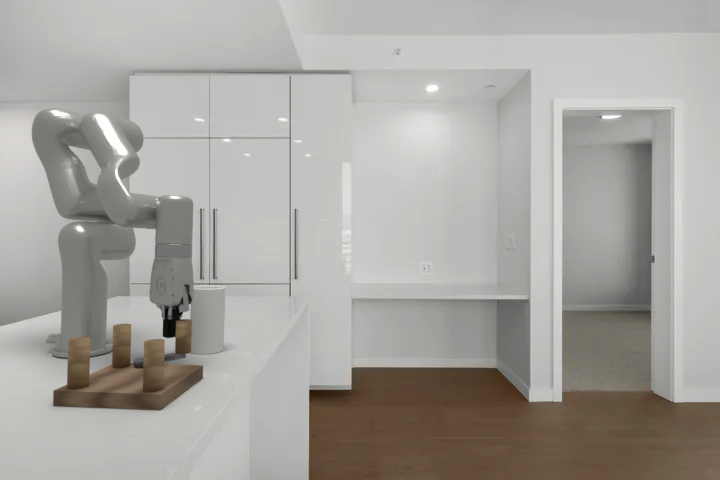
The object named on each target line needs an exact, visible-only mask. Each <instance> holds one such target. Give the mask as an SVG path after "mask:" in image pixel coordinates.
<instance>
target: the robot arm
mask: <svg viewBox="0 0 720 480" xmlns="http://www.w3.org/2000/svg"><path fill="white" fill-rule="evenodd" d="M31 126H32V127H31V138H32V139H31V141H32V144H33V148H34V150H35V153H36V155H37V157H38V158H39V161H40V163H41V165H42V167H43V170H44V172H45V174H46V178H47V182H48V185H49V189H50V193H51V196H52V201H53V203H54V206H55V209H56V211H57V213H58V214H59V216H61V217H62V218H63V219H66V220H71V221H72V222H71V223H70V222H69V223H68V224H66V225H64V226H63V227H62V228H61V229H60V231H59V232H58V237H57V245H58V250H59V256H60V263H61V306H60V307H61V308H60V310H61V311H60V312H61V313H60V333H58V334H57V333H50V334H49V335H48V336H47V338H46V339H45V343H46V344H55V347H54V348H53V349H52V351H51V352H52V353H51V355H52V356H53V357H57V358H63V359H64V358H65V359H68V339H70V338H74V337H90V357H94V356H95V357H96V356H100V355H104V354H105V355H106V354H107V353H110V352H112V350H113V343H110V342H107V327H108V326H107V324H108V323H107V317H108V289H109V287H108V280H109V279H108V276H107V275H108V274H107V272H106V269H104V267H103V265H102V264H101V262H100V261H121V260H125V259H128V258H129V257H131V256H132V255H133V254H134V251H135V250H136V245H137V243H136V242H137V241H136V240H137V239H136V234H135V231H134V229H144V230H145V229H146V230H155V235H154V237H155V238H154V240H155V241H154V243H155V245H154V258H153V262H152V267H151V274H150V281H149V301H150V302H151V303H152V304H154V305H155V306H156V308H158V309H160V311H161V313H160V314H161V318H162V337H163V338H166V339H172V338H175V337H176V320H180V319H183V314H184V313H186V312H189V311H190V305H191V303H192V301H193V294H194V286H195V283H194V268H193V267H194V266H193V260H192V259H193V234H194V233H193V230H194V229H193V227H194V224H193V223H194V201H193V200H192V198H191V197H189V196H184V195H176V194H167V195H166V194H165V195H161V196H156V195H150V194H142V193H136V192H135V193H134V192H130V191H129V190H128V189H127V187H126V185H125V184H124V182H123V181H122V180H124V179H127V178H129V177H131V176H132V175H133V174H135V173H136V172H138V171H137V170H138V169H139V167H140V164H141V159H140V157H139V155H138V152H139V151H140V150H141V149H142V148H143V145H144V134H143V131H142V129H141V127H140V126H139V125H138V124H137V123H135V122H134V121H132V120H130V119H126V118H124V117H120V116H116V115H113V114H110V113H107V112H101V111H92V112H89V113H86V114H82V113H78V112H74V111H71V110H67V109H64V108H63V109H61V108H54V107H53V108H52V107H51V108H49V107H48V108H44V109H42V110H40V111H39V112H37V113H36V115H35V116H34V119H33V120H32V124H31ZM70 147H74V148H77V149H83V150H88V151H90V152H91V154H92V156H93V158H94V160H95V161H96V163H97V165H98V167H99V168H100V169H101V170H100V172H99V175H98V177H97V182H96V184H95V183H92V182H91V180H90V179H89V177H88V174H87V170H86V167H85V165H84V163H83V161H82V160H81V159H80V158H79V156H78V155H77V154H76V153H75V152H74V151H73V150H72V149H71V148H70ZM73 221H74V222H73Z"/></svg>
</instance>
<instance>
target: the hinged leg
mask: <svg viewBox="0 0 720 480" xmlns="http://www.w3.org/2000/svg"><path fill="white" fill-rule="evenodd" d="M174 338H175V339H174V340H175V341H174V342H175V344H174V347H175V348H174V350H175V351H174V352H172V353H167V354H165V353H164V363H166V362H172V361H177V360H182V359H186V358H187V357H186V356H187V355H189V354H192V353H191V340H192V320H190V318H186V319H185V318H181V319H180V320H176V337H174ZM143 361H144V357H137V358H134V359H133V363H134V367H143Z"/></svg>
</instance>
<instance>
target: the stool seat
mask: <svg viewBox="0 0 720 480" xmlns="http://www.w3.org/2000/svg"><path fill="white" fill-rule="evenodd" d="M165 341H166V340H165V339H164V338H163V339H161V338H153V339H152V338H151V339H146V340H144V341H143V358H144V361H143V367H134V362H131V350H132V324H131V323H118V324H113V325H112V344H113V350H112V351H111V352H112V353H111V355H112V356H111V357H112V358H111V364H109V365H108V366H106V367H103V368H100V369H98V370H96V371H94V372H92V373H90V359H91V356H90V337H74V338H70V339H68V358H67V369H66V370H67V376H66V378H67V379H66V380H67V381H66V384H65V385H63V386H60V387H59V388H56V389H54V390H53V392H52V393H53V395H52V406H53V407H54V406H55V407H73V408H74V407H76V408H77V407H78V408H101V409H123V410H124V409H127V410H147V411H148V410H152V411H153V410H154V411H162V410H163V409H164V408H165V407H166V406H168V405H169V404H170V403H171V402H173V401H174V400H175V399H177V398H178V397H180V396H181V395H182V394H184V393H185V392H187V391H188V390H189V389H190V388H191V387H193V386H194V385H195V384H198V382H200V381H201V380H202V379H204V365H198V364H176V363H175V364H173V363H171V364H170V363H167V364H166V363H165V362H164V355H165V351H166V349H165V346H166V344H165V343H166V342H165Z"/></svg>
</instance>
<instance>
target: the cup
mask: <svg viewBox="0 0 720 480" xmlns="http://www.w3.org/2000/svg"><path fill="white" fill-rule="evenodd" d="M225 308H226V286H224V285H223V286H222V285H194V294H193V301H192V303H191V304H190V307H189V311H190V315H189V316H190V317H189V319H190V320H192V340H191V353H190V354H195V355H212V353H214V354H218V353H217V352H219V353H221V351H222V352H223V351H224V350H225V315H226V314H225V313H226V311H225V310H226V309H225Z"/></svg>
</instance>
